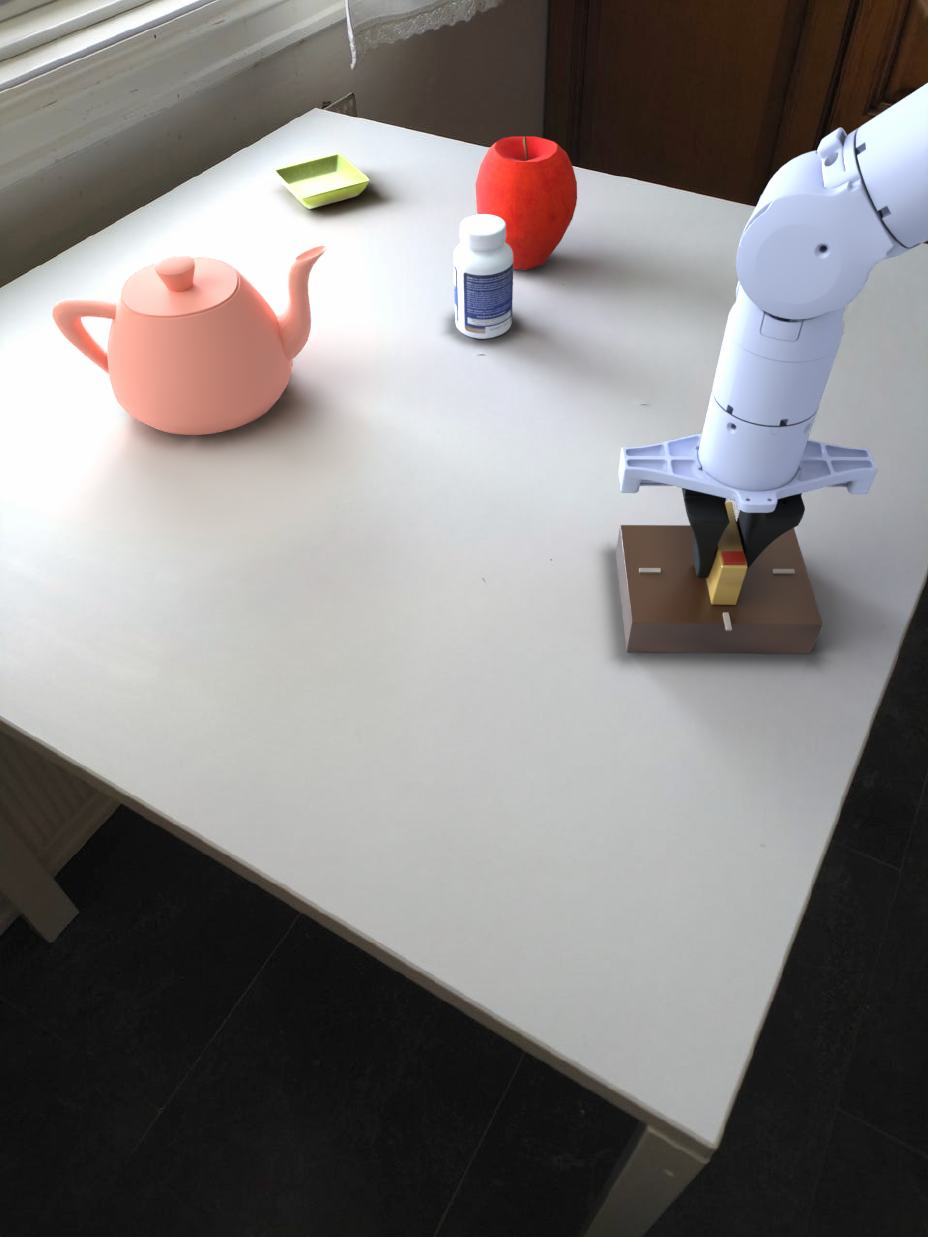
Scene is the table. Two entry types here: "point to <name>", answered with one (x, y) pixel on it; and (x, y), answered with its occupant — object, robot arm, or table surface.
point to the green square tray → (323, 180)
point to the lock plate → (680, 602)
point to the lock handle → (727, 565)
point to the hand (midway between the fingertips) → (717, 567)
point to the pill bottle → (483, 277)
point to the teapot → (195, 342)
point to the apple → (528, 195)
